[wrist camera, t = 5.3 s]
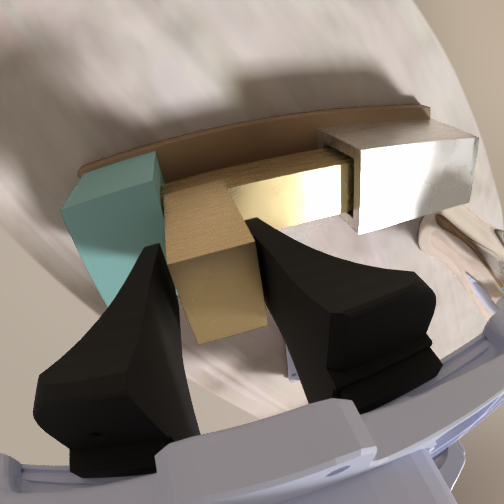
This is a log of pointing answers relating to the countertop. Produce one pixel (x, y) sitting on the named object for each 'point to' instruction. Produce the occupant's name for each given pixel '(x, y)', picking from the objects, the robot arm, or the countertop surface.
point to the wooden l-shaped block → (243, 230)
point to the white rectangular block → (403, 169)
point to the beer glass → (468, 253)
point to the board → (254, 140)
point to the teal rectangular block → (116, 219)
